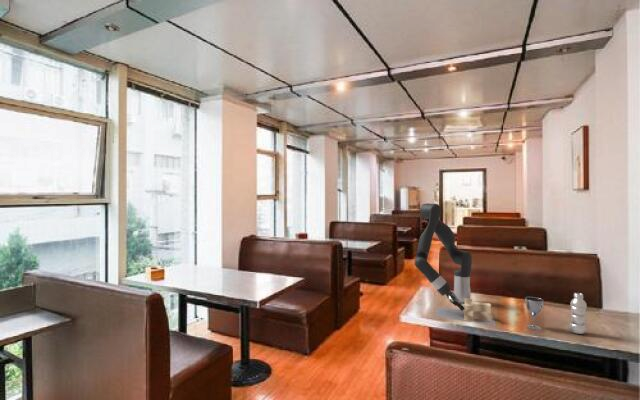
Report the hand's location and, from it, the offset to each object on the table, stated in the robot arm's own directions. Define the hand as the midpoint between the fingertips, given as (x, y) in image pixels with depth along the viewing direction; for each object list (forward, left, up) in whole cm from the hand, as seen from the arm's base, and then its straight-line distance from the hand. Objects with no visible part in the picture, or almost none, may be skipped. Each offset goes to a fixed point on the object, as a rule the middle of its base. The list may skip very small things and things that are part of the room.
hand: (463, 309), depth 187 cm
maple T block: (-4, +6, -3) cm, 8 cm away
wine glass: (-21, +26, -4) cm, 34 cm away
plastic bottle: (-34, +40, -4) cm, 53 cm away
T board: (0, 0, -4) cm, 4 cm away
